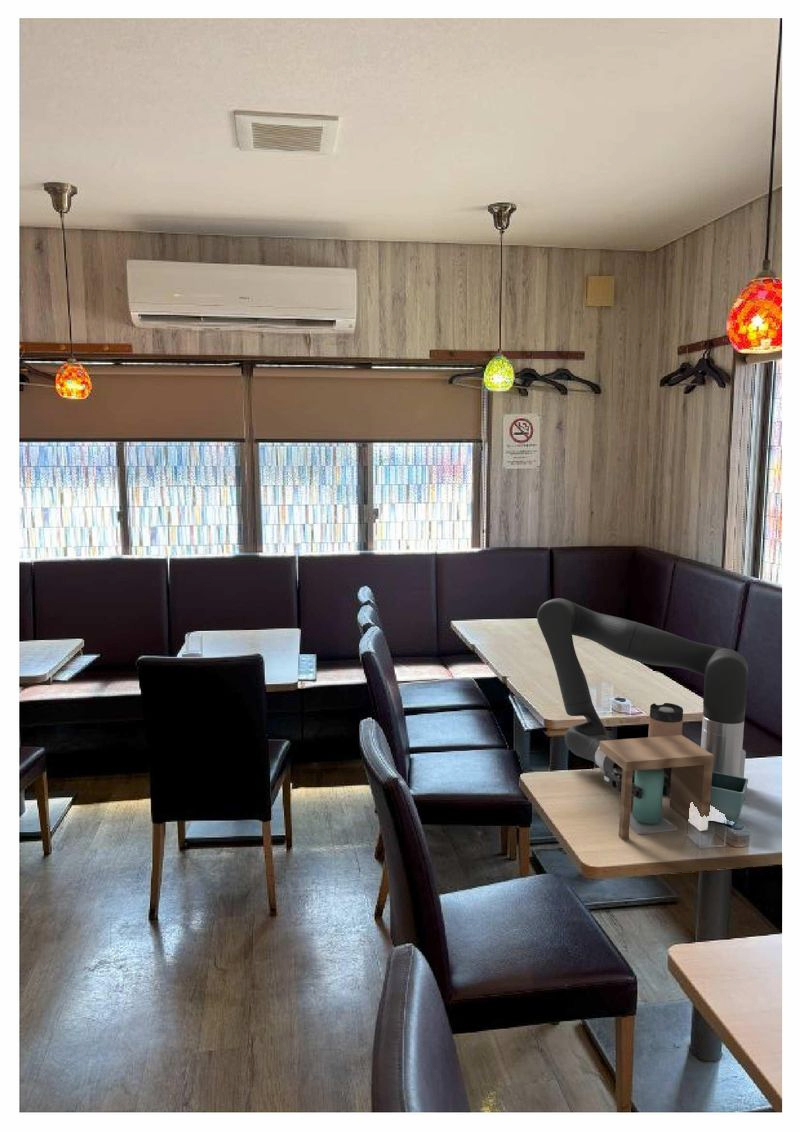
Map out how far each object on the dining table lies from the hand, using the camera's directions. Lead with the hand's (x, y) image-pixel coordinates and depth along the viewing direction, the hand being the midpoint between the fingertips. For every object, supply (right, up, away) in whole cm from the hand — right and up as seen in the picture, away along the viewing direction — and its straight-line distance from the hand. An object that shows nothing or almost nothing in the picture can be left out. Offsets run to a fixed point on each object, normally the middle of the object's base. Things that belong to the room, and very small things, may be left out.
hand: (654, 793), depth 168 cm
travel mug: (+9, -5, +22) cm, 24 cm away
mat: (-1, -7, +3) cm, 8 cm away
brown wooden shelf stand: (0, -7, +4) cm, 8 cm away
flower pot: (+16, -8, +5) cm, 19 cm away
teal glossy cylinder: (-1, -6, +3) cm, 7 cm away
